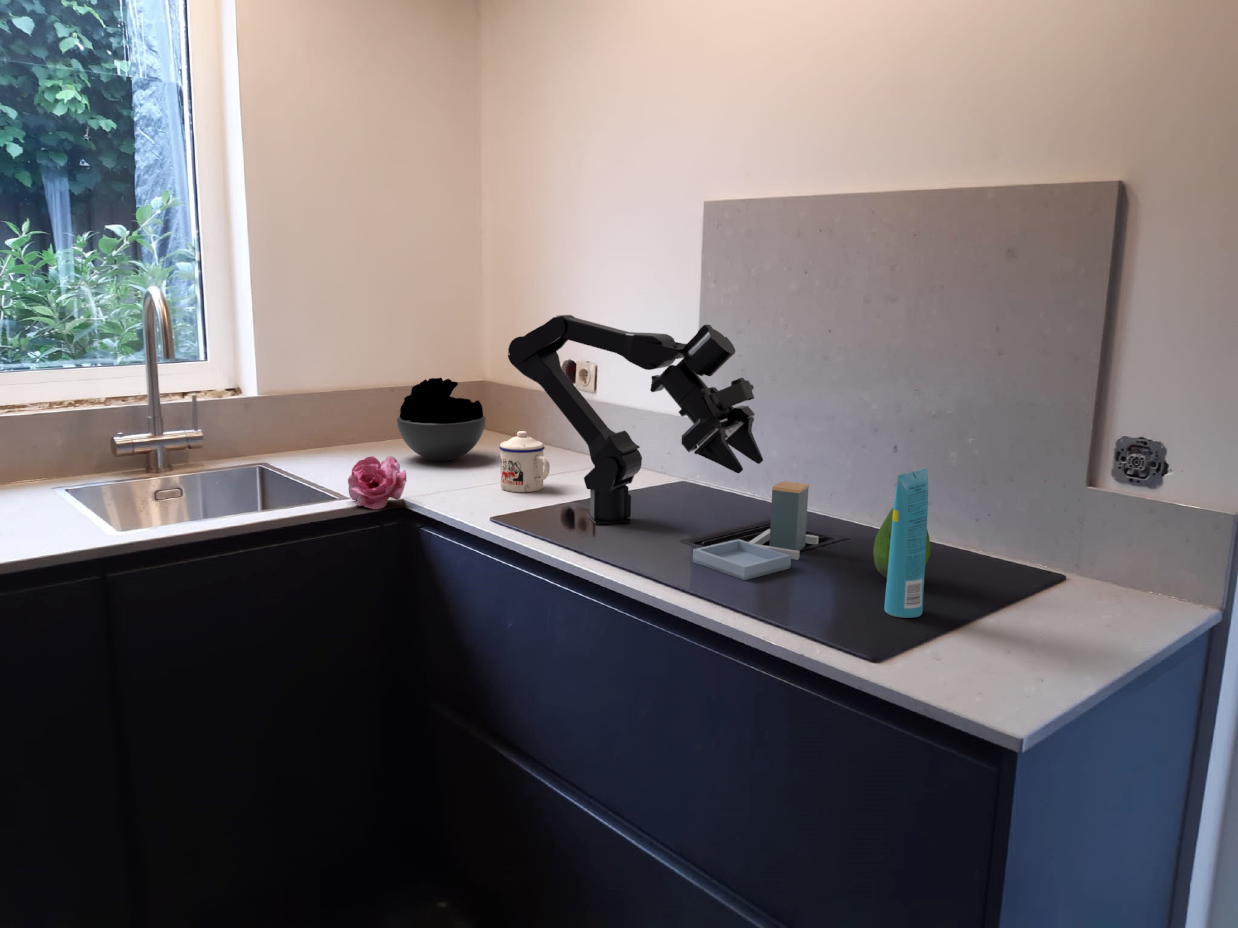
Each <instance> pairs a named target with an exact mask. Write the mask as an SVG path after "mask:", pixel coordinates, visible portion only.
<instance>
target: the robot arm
mask: <svg viewBox="0 0 1238 928" xmlns="http://www.w3.org/2000/svg"><path fill="white" fill-rule="evenodd" d="M568 341H572V342H575V343H578V344H582V345H585V346H590V347H592V348H597V349H600V350H602V351H603V350H604V351H607V352H611V353H613V354H614V353H615V354H617V355H619V356H621V357H622V358H623V359H625V360H626V361H627V362H629V363H631V364H633V365H635V366H637V367H639V368H641V369H644V370H646V371H652V370H656V369H657V370H658V369H662V368H665V369H664V371H662V373H661V374H656V375H652V376H651V385H650V392H651V393H655V392H661V391H663V390H665V391H666V392H667V393H668V395H669V397H671V398H672V400H673V401H674V402H675V403H676V405H677V406H678V407H679V408H680V409H679V410H678V413H679V415H680V416H681V417H687V418H688V419H689V420H690V422H691V423H692V425H691V426H690V427H689V428H688V429H687V430H686V431H685V432H684V433H683V434H682V435H681V443H680V444H681V445H682V446H683V448H685V450H686V451H687V452H688V453H691V452H693V454H694V455H698V456H701V457H703V458H706V459H707V460H709V461H712V462H714V463H716V464H717V465H720V466H722V467H724V468H726V469H728V470H730V471H732V472H734V473H735V474H740V473H742V472H743V470H744V468H743V466H742V464H741V462H740V461H739V459H738V457H737V456H736V454H735V453H734V451H733V449H735V450H736V451H738V452H740V453H741V454H742V455H743V456H745V457H746V458H748V459H750V461H753V462H754V463H755V464H757V465H759V464H762V463H763V462H764V458H763V455H762V453H761V451H760V449H759V447H758V444H757V442H756V439H755V437H754V434H753V431H752V428H753V424H754V421H755V418H754V417H755V415H756V414H755V412H754V411H753V410H752V409H751V408H750V407H749V406H748V405H739V406H736V405H738V404H741V403H743V402H747V401H751V400H753V399H755V396H754V393H753V390H754V385H753V384H752V383H750V380H746V379H745V378H744V377H738V378H737V379H734V380H732V381H731V382H730V386H728V387H724V388H722V389H720V390H718V389H717V388H716V387H714V386H711V387H708V385H706V383H705V381H703V379H702V378H701V377H703V376H708V377H712V376H713V375H714V374H715V373H716V372H717V371H718V370H719V369H720V368H721V367H723V365H724V364H725V363H727V361H728V360H729V359H731V357H733V355H735V354H736V348H735V346H734V344H733V343H732V342H731V340H730V339H729V338H728V337H727V336H724V335H723V334H722V333H721V332H720V331H718V330H716V329H715V328H713V327H712V325H711V324H703V325H702V326H701V327H700V328H699V329H698V330H697V333H696V334H695V335H694V336H693V337H692V338H691V339H690V340H689V341H688V342H687V343H682V342H677V341H675V338H674V337H672V336H671V335H670V334H667V333H657V332H655V333H654V332H635V331H634V332H633V331H632V332H631V331H626V330H622V329H619V328H615V327H612V326H607V325H605V324H600V323H597V322H592V321H590V320H589V321H588V320H585V319H581V318H577V317H576V316H574V315H572V314H560V315H555V316H553V317H551V319H549V320H548V321H547V322H545V323H544V324H542V325H540V326H538V327H537V328H535V329H533V330H531V331H529V332H528V333H526V334H525V335H523V336H521V335H520V336H517V337H515V338H513V339H512V340H511V341H510V343H509V345H508V349H507V350H508V352H507V358H508V360H509V363H510V364H511V365H512V366H513V367H514V369H517V370H518V371H519V372H520V373H521V374H522V375H523V376H525V377H526V378H527V379H529V380H530V381H533V382H535V383H537V384H538V385H539V386H540V387H541V388H542V389H543V391H544V392H545V393H546V394H547V396H548V397H549V398H550V400H552V402H553V403H554V404H555V406H556V407H557V408H558V410H559V411H560V412H561V413H562V415H564V417H565V418H566V420H568V422H569V423H570V425H571V426H572V427H573V428H574V429H575V431H576V432H577V433H578V435H579V436H580V437H581V438H582V439H583V440H584V442H585V443H586V445H587V447H588V453H589V456H590V460H591V463H592V464H593V466H594V467H593V468H592V469H591V470H590V471H589V472H588V473H587V474H586V475H585V476H584V477H583V480H584V484H585V487H586V489H587V490H589V491H590V501H589V505H590V506H589V507H590V508H589V509H590V510H589V511H590V512H588V513H587V517H588V518H589V519H590V520H591V522H593V523H594V524H595V525H608V524H609V525H610V524H611V525H612V524H629V523H630V524H631V522H632V520H631V517H632V495H631V494H630V492H629V486H628V484H629V485H630V484H632V483H633V481H634V477H635V475H637V474H638V473H639V472H640V471H641V468H642V465H643V464H642V462H643V457H642V453H641V452H640V451H639V450H638V449H640V448H641V446H639V444H637V443H636V442H634V440H632V438H631V436H630V435H629V433H628V432H627V431H626V430H622V431H619V432H615V431H613V430H612V429H610V428H609V426H608V425H607V424H606V423H605V422H604V421H603V419H602V418H601V416H600V415H599V414H598V413H597V412H596V411H595V409H594V408H593V407H592V406H591V405H590V403H589V401H587V400H586V398H585V397H584V395H582V393H581V392H580V391H579V389H578V388H577V387H576V385H575V384H574V383H573V381H572V380H570V378H569V377H568V376H567V374H566V373H565V372H564V371H563V369H562V366H561V360H560V357H559V354H558V351H559V350H560V349H562V348H563V347H564V346H565V344H566V343H567V342H568ZM680 359H681V360H680ZM676 360H680V361H679V362H678V363H677V364H676V365H674V362H675V361H676ZM734 406H735V407H734ZM732 448H733V449H732Z"/></svg>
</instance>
